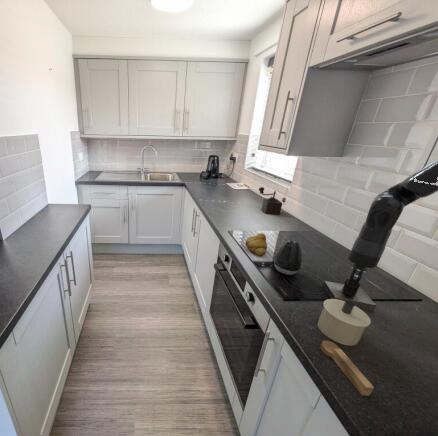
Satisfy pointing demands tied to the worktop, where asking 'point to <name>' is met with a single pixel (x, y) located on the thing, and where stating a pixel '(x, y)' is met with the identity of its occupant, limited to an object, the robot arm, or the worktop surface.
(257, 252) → the bread roll
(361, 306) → the grey flat piece
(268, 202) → the manual coffee grinder
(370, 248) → the robot arm
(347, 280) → the knob
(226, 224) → the worktop surface
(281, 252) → the dark grey egg shape
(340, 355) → the spoon
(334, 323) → the pot
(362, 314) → the pot lid
